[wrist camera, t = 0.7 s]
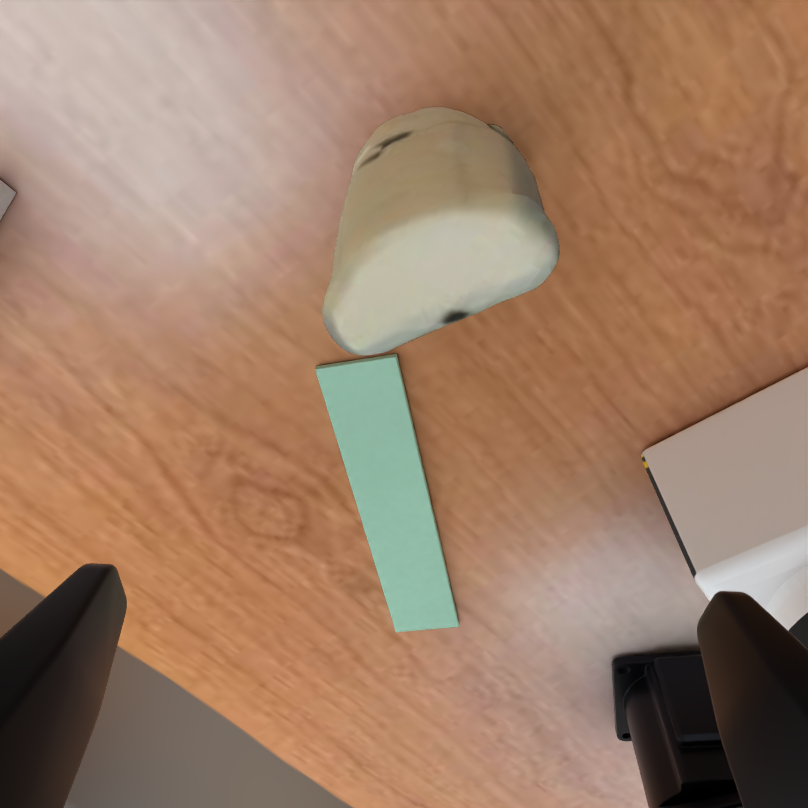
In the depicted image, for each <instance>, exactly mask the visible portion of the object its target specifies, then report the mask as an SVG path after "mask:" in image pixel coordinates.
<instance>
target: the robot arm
mask: <svg viewBox="0 0 808 808" xmlns="http://www.w3.org/2000/svg"><path fill="white" fill-rule="evenodd" d="M126 608H127V601H126V595H125V592H124V589H123V586H122V583H121V580H120V577H119V574H118V571H117V569H116V567H114V566H113V565H111V564H94V563H90V564H86V565H83V566H82V567H80V568H79V569H78V570H77V571H75V572H74V573H73V574H72V575H71V576H70V577H69V578H68V579H66V580H65V581H64V582H63V583H62V584H61V585H60V586H58V587H57V588H56V589H55V590H54V591H53V592H52V593H51V594H49V595H48V596H47V597H46V598H45V599H44V600H43V601H42V602H40V603H39V604H38V605H37V606H36V607H35V608H34V609H33V610H31V611H30V612H29V613H28V614H27V615H26V616H25V617H24V618H22V619H21V620H20V621H19V622H18V623H17V624H16V625H14V626H13V627H12V628H11V629H10V630H9V631H8V632H7V633H5V634H4V635H3V636H2V637H1V638H0V808H64V805H65V802H66V800H67V797H68V794H69V792H70V789H71V787H72V784H73V781H74V779H75V776H76V774H77V771H78V768H79V766H80V763H81V760H82V758H83V755H84V753H85V750H86V747H87V744H88V742H89V740H90V737H91V734H92V732H93V729H94V726H95V723H96V720H97V718H98V715H99V711H100V707H101V704H102V701H103V697H104V693H105V689H106V686H107V682H108V678H109V675H110V670H111V667H112V663H113V659H114V656H115V651H116V648H117V644H118V640H119V637H120V633H121V629H122V625H123V622H124V618H125V614H126ZM697 636H698V641H699V646H700V650H701V651H696V652H682V653H668V654H654V655H641V656H627V657H618V658H616V659H614V660H613V661H612V680H613V697H614V714H615V729H616V734H617V737H618V739H620V740H622V741H632V743H633V747H634V750H635V754H636V758H637V762H638V766H639V770H640V774H641V778H642V782H643V786H644V790H645V794H646V798H647V802H648V806H649V808H808V649H807V648H806V647H805V646H804V645H803V644H802V643H801V642H800V641H799V640H798V639H796V638H795V637H794V636H793V635H792V634H791V633H790V632H789V631H788V630H787V629H786V628H785V627H784V626H782V625H781V624H780V623H779V622H778V621H777V620H776V619H775V618H774V617H773V616H772V615H771V614H770V613H768V612H767V611H766V610H765V609H764V608H763V607H762V606H761V605H760V604H759V603H758V602H757V601H755V600H754V599H753V598H752V597H751V596H750V595H748V594H746V593H744V592H736V591H719V592H717V593H716V594H715V595H714V596H713V598H712V599H711V601H710V603H709V604H708V606H707V608H706V609H705V611H704V613H703V615H702V616H701V618H700V620H699V622H698V626H697Z"/></svg>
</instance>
